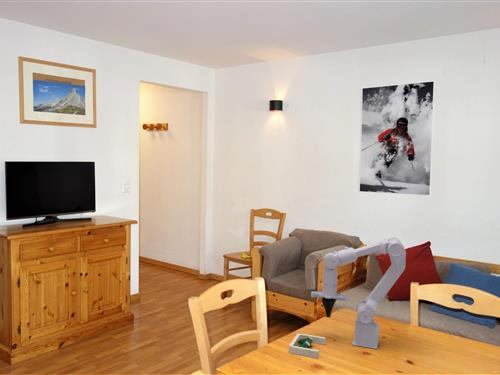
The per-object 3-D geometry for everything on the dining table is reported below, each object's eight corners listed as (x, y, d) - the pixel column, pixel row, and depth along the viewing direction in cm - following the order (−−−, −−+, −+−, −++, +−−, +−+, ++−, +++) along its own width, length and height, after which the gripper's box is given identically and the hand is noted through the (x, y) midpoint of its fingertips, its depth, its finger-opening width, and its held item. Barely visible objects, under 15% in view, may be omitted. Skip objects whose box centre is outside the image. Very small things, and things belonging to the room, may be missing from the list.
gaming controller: (299, 358, 169) (311, 348, 167) (292, 349, 169) (304, 340, 168) (303, 348, 177) (315, 339, 176) (297, 340, 178) (308, 332, 176)
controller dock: (325, 343, 178) (325, 337, 178) (318, 358, 164) (318, 351, 164) (297, 339, 182) (297, 333, 182) (288, 352, 168) (288, 346, 168)
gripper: (309, 283, 180) (308, 317, 181) (346, 288, 175) (345, 322, 176) (313, 279, 186) (312, 311, 187) (349, 283, 181) (347, 316, 182)
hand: (328, 316), depth 182 cm, fingers closed
